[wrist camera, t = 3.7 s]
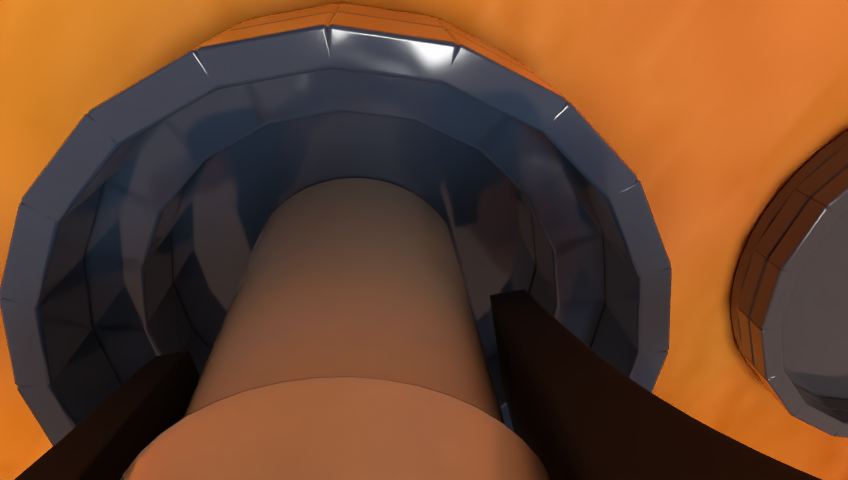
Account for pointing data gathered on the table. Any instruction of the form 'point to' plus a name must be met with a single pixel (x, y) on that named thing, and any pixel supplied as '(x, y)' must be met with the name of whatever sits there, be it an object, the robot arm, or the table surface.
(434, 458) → the clay pot
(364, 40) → the planter
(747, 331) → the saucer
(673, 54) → the table surface
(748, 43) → the table surface
